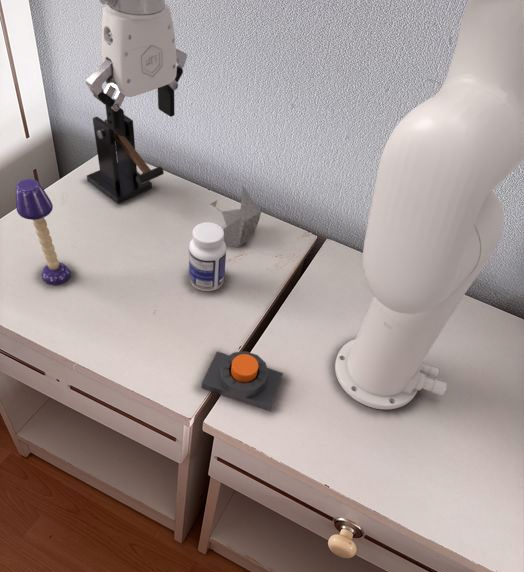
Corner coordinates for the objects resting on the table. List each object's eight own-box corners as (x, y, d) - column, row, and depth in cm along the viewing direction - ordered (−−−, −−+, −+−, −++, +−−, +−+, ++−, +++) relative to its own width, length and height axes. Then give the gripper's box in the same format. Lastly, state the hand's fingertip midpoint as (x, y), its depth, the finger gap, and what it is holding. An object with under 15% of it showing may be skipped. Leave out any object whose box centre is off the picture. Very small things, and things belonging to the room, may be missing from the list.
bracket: (152, 188, 97) (148, 123, 87) (118, 204, 93) (110, 138, 83) (121, 166, 100) (115, 101, 90) (87, 181, 96) (76, 114, 86)
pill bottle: (210, 263, 86) (213, 215, 79) (230, 284, 84) (235, 236, 76) (181, 276, 84) (181, 227, 76) (201, 297, 81) (203, 249, 74)
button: (260, 366, 71) (261, 358, 70) (252, 386, 69) (253, 379, 68) (235, 358, 72) (236, 350, 70) (227, 378, 69) (228, 370, 68)
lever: (161, 177, 91) (165, 169, 89) (139, 188, 88) (142, 179, 86) (119, 123, 90) (121, 113, 88) (95, 132, 88) (97, 122, 86)
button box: (282, 376, 74) (285, 363, 71) (269, 412, 70) (272, 400, 67) (217, 354, 75) (218, 342, 72) (200, 389, 71) (201, 377, 68)
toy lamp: (51, 291, 78) (24, 199, 65) (31, 276, 80) (1, 183, 67) (76, 275, 81) (55, 184, 68) (56, 261, 82) (32, 169, 69)
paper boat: (236, 257, 86) (190, 227, 86) (235, 264, 93) (192, 237, 92) (274, 198, 87) (228, 168, 87) (270, 209, 94) (228, 182, 93)
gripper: (97, 19, 61) (112, 151, 74) (203, -6, 70) (199, 116, 83) (59, -4, 63) (80, 128, 76) (166, -25, 72) (168, 96, 86)
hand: (142, 121), depth 80 cm, fingers open, 9 cm apart
